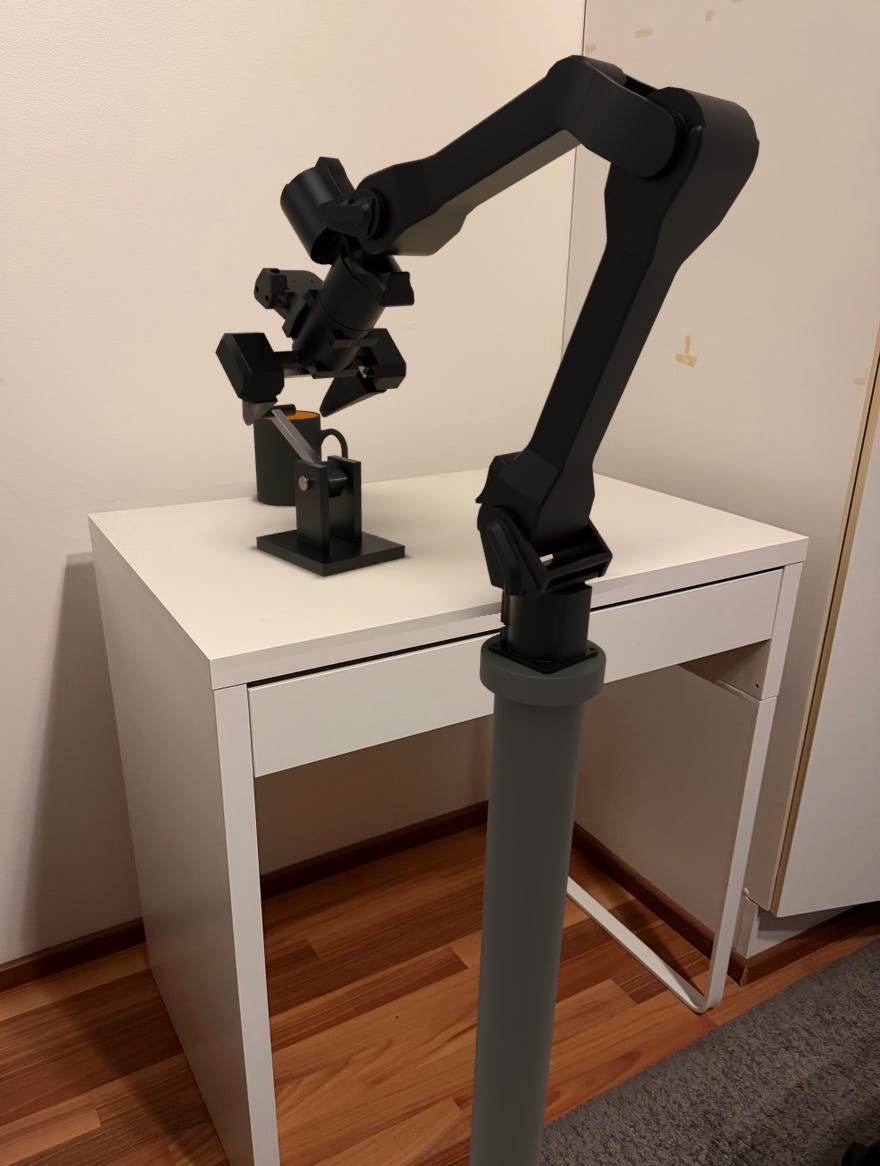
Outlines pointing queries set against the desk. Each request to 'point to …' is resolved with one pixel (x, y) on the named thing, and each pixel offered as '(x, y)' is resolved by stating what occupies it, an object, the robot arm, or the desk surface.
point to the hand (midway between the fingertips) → (285, 417)
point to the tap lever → (305, 446)
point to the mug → (285, 455)
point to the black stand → (329, 524)
